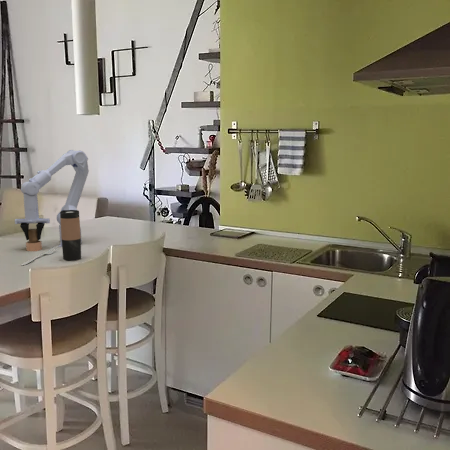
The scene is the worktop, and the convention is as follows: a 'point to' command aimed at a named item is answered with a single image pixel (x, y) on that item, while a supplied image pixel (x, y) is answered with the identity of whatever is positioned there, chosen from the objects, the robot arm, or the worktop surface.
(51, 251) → the fork
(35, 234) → the peg
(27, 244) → the cup
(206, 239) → the worktop surface
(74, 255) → the travel mug
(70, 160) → the robot arm
